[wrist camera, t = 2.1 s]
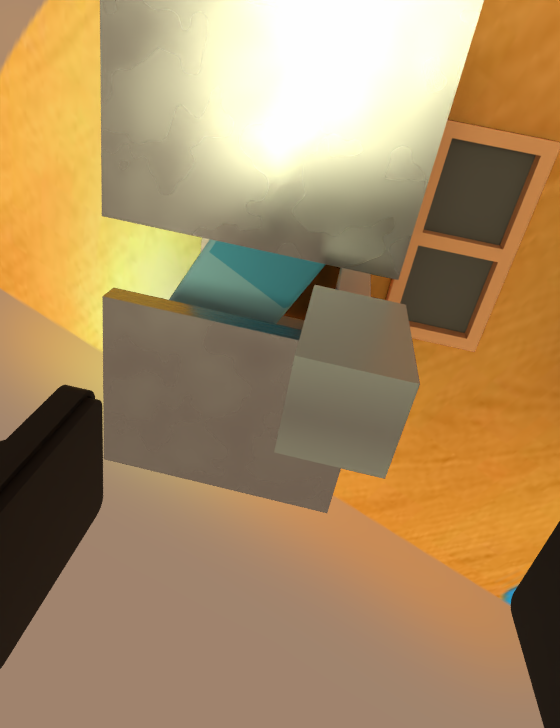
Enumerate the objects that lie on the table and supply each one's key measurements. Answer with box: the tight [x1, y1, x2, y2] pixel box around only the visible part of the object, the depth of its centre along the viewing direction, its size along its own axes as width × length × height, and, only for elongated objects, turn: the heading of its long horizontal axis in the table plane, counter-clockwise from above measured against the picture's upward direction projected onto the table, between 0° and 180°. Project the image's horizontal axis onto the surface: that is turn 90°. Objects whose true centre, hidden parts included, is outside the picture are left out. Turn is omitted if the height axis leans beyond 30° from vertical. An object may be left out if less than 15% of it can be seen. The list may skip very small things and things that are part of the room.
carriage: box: [201, 238, 420, 479], centre depth 22 cm, size 10×16×22 cm, turn 170°
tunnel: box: [100, 0, 484, 513], centre depth 25 cm, size 11×20×15 cm, turn 170°
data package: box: [169, 239, 326, 324], centre depth 26 cm, size 12×4×12 cm, turn 143°
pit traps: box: [386, 120, 560, 352], centre depth 31 cm, size 6×13×1 cm, turn 170°
